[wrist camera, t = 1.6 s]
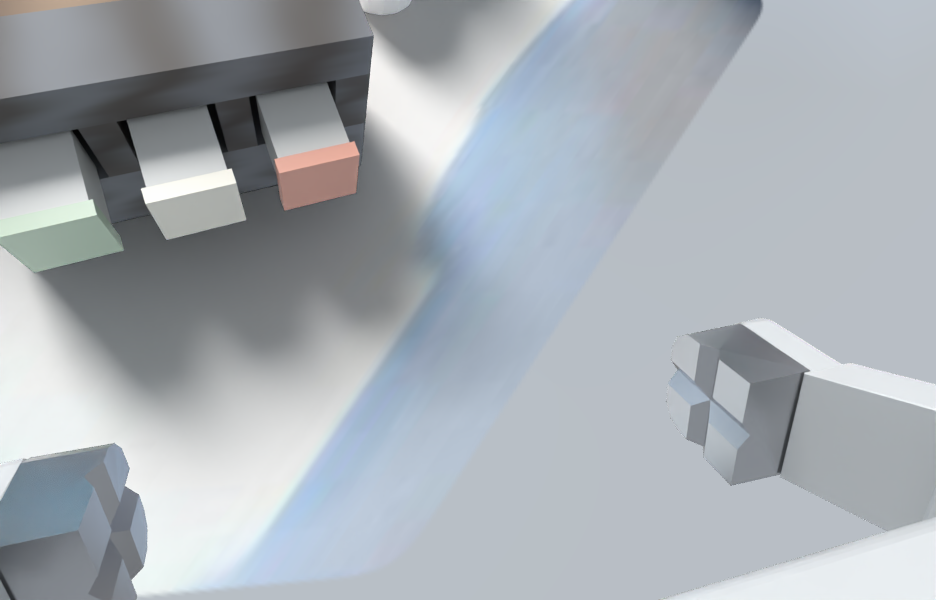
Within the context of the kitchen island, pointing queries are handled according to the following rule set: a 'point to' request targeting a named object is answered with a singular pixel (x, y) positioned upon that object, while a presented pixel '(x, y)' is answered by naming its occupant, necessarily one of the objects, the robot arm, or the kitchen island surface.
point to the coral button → (307, 145)
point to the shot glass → (384, 6)
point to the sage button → (53, 203)
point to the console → (174, 75)
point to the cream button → (185, 172)
